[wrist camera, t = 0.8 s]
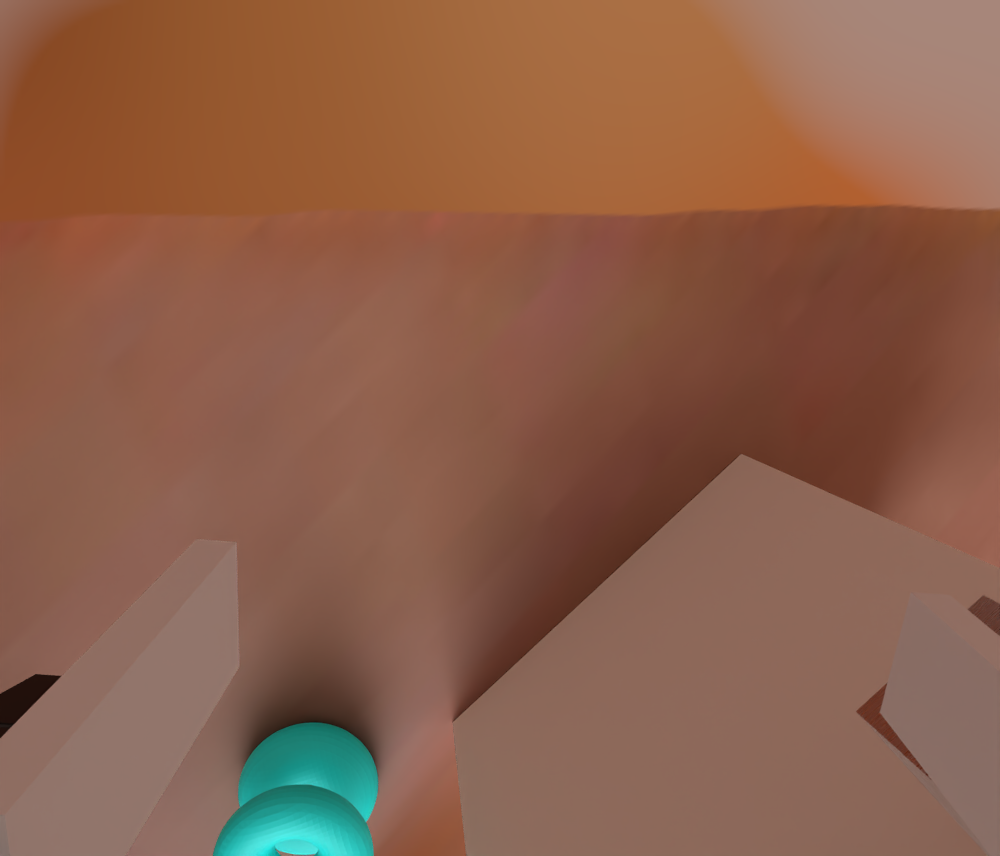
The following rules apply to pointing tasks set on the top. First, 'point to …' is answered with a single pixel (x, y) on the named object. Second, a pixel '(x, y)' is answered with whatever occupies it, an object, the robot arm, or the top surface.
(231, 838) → the donuts
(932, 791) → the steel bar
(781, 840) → the tall cream pillar block
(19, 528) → the top surface
